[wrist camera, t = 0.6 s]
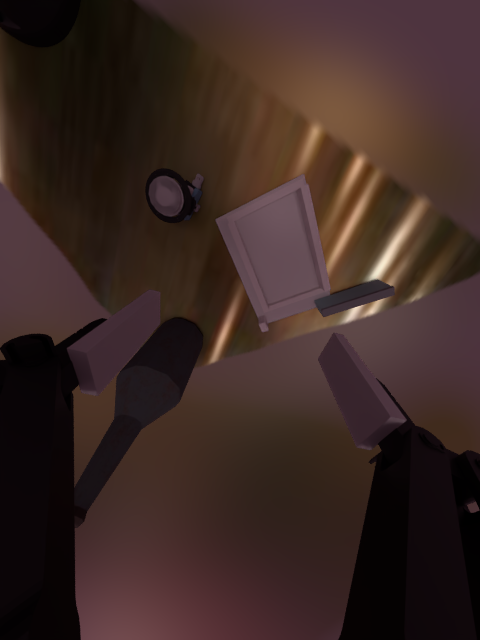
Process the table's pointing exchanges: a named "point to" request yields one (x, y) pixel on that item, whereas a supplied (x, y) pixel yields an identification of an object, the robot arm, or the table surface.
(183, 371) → the bottle
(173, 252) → the table surface
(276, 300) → the tray
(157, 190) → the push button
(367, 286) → the dark slender plank
